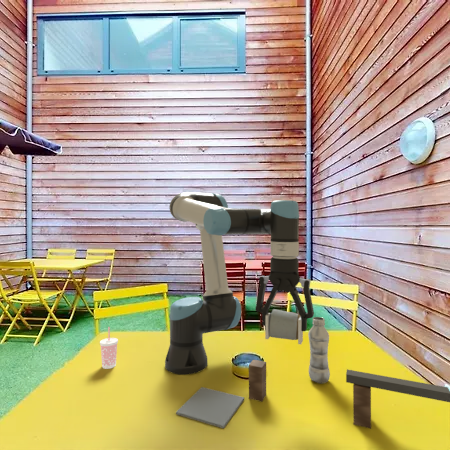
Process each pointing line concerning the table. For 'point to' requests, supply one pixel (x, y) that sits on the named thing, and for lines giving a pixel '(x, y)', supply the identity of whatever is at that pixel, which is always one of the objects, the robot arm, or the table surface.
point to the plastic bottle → (319, 351)
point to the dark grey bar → (398, 385)
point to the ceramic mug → (284, 325)
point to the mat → (211, 407)
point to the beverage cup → (108, 351)
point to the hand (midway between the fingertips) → (283, 339)
